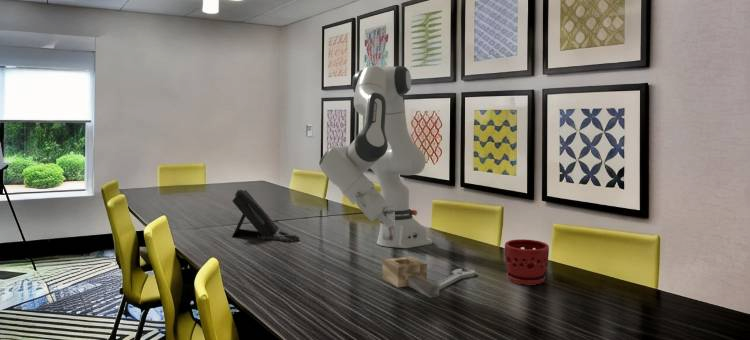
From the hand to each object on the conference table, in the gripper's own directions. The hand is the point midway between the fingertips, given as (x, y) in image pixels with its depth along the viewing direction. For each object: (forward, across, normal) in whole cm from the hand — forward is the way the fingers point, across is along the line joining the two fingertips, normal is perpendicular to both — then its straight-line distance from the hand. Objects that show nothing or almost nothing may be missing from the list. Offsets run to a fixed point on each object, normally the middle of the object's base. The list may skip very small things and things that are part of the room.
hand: (391, 223), depth 166 cm
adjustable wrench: (+26, +1, 0) cm, 26 cm away
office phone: (-29, +56, +54) cm, 83 cm away
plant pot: (+42, +5, -17) cm, 45 cm away
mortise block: (+18, -6, +7) cm, 20 cm away
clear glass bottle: (+3, 0, +4) cm, 5 cm away
